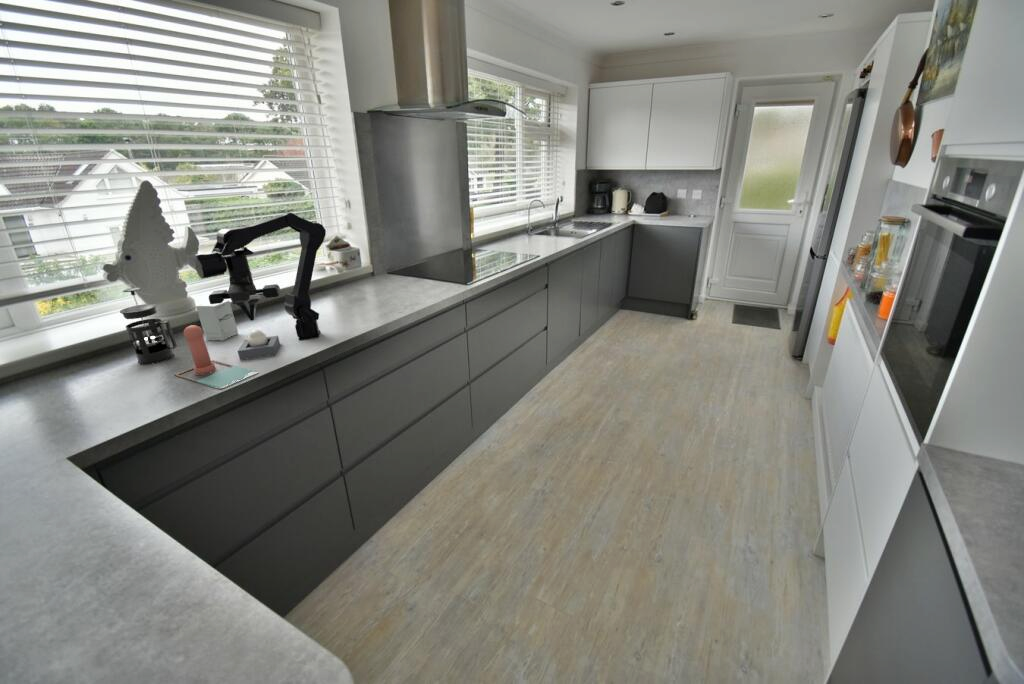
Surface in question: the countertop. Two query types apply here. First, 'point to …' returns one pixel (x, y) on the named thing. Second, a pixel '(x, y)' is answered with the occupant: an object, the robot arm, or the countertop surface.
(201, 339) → the pawn
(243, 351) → the box
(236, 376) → the tile
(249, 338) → the cream white ball
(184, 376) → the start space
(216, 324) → the supplement box
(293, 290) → the robot arm
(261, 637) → the countertop surface
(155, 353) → the french press
